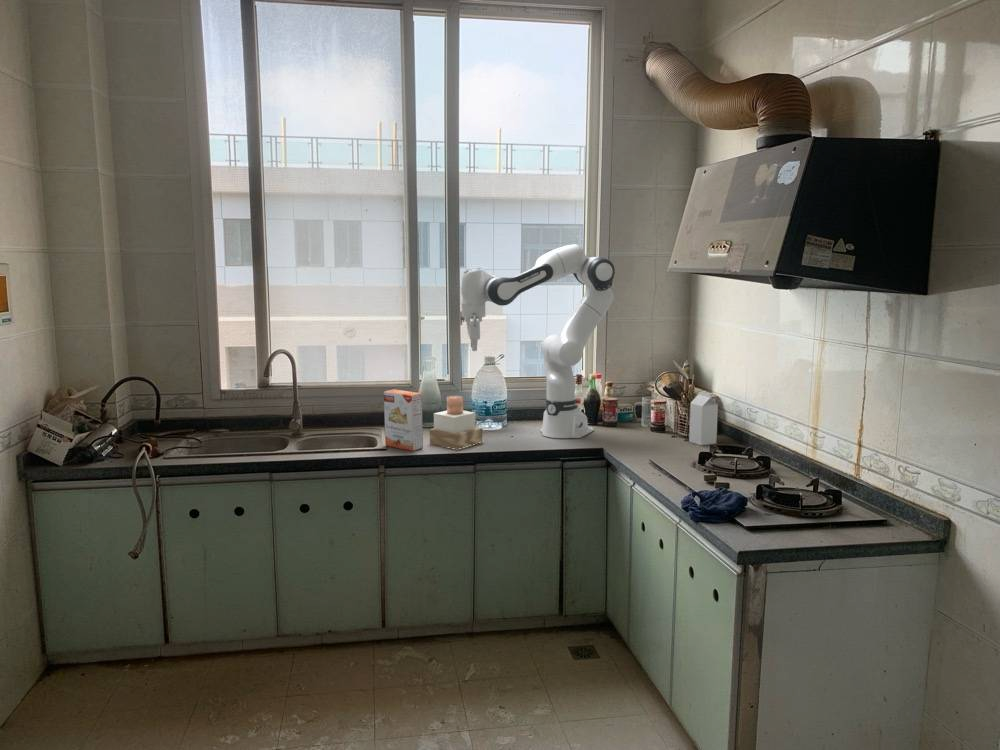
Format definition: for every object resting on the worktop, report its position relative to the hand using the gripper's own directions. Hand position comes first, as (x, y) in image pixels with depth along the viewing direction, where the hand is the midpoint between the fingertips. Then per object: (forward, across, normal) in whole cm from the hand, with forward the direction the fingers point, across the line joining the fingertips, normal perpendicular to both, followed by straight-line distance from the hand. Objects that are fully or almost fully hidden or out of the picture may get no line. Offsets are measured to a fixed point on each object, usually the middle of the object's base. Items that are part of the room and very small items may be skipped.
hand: (473, 349), depth 278 cm
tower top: (+30, -4, +8) cm, 31 cm away
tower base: (+36, -4, +7) cm, 36 cm away
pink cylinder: (+24, -4, +8) cm, 25 cm away
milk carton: (+35, -13, -85) cm, 93 cm away
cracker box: (+35, -8, +27) cm, 45 cm away
